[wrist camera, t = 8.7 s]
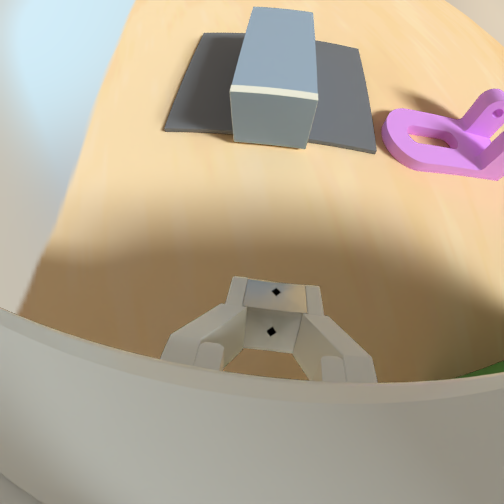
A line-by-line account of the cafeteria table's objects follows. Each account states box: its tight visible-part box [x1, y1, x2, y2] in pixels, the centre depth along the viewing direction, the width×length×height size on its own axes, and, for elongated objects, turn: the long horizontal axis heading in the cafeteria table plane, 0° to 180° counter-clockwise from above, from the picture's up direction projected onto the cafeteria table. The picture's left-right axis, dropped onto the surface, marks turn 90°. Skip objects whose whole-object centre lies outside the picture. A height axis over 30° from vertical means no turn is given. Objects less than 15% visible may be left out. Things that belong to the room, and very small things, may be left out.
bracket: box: [381, 89, 504, 181], centre depth 18 cm, size 13×6×7 cm, turn 93°
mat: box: [164, 33, 376, 154], centre depth 22 cm, size 14×16×1 cm
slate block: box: [230, 7, 318, 149], centre depth 19 cm, size 5×5×12 cm
